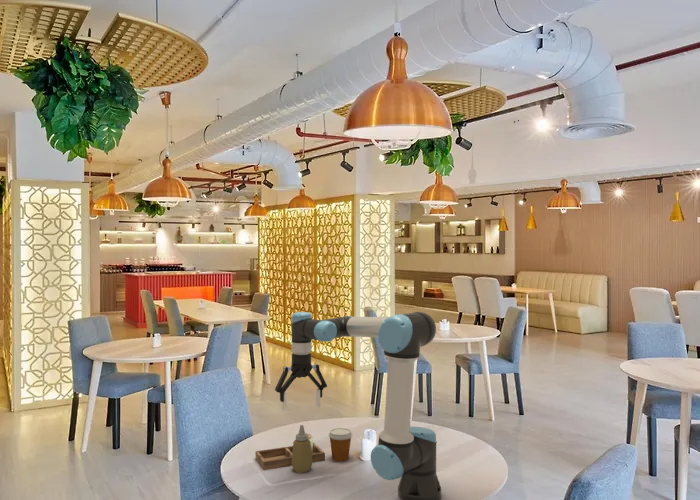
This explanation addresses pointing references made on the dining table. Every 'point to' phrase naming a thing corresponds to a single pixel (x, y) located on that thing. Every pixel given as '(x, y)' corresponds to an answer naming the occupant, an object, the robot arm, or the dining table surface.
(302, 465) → the squeeze bottle
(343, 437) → the disposable coffee cup
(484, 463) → the dining table surface
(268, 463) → the caddy
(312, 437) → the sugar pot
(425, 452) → the robot arm
